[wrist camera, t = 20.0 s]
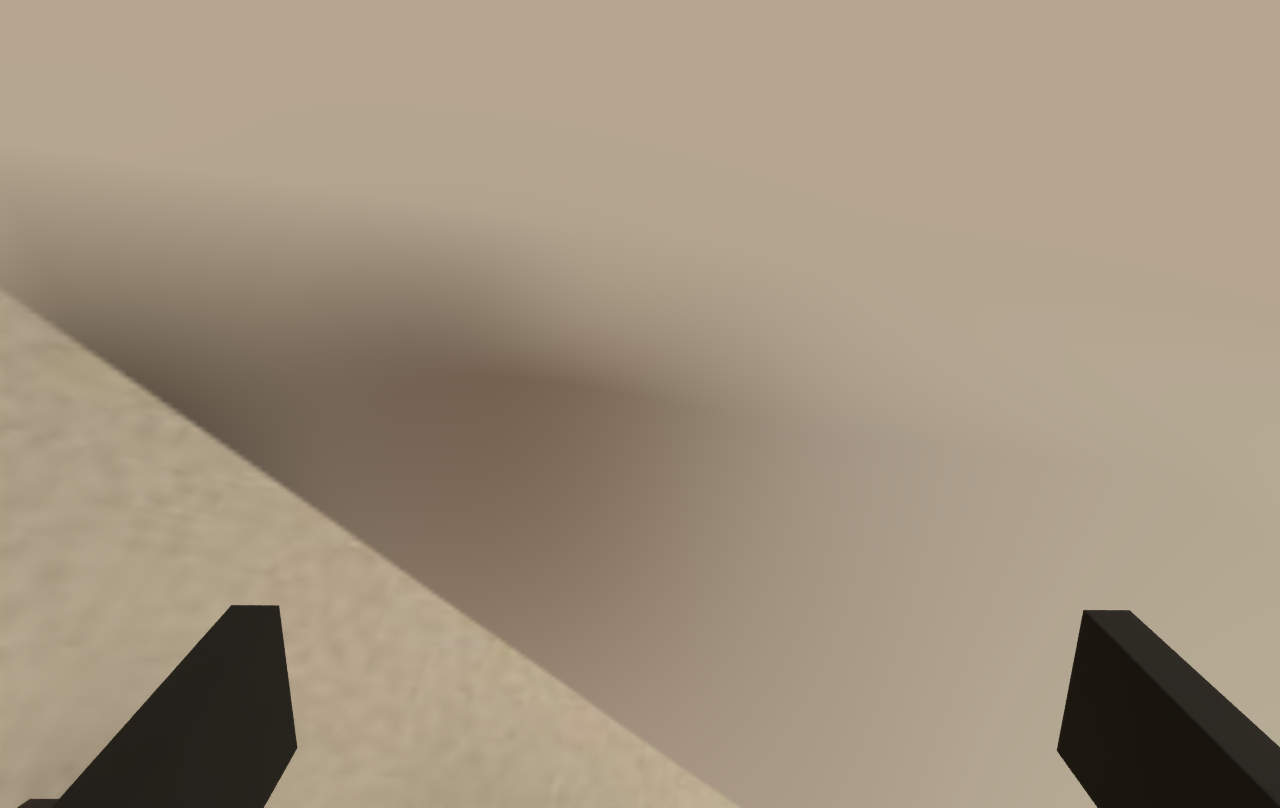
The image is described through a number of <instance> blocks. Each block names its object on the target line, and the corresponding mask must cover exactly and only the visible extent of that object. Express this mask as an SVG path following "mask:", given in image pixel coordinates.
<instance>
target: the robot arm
mask: <svg viewBox="0 0 1280 808" xmlns="http://www.w3.org/2000/svg"><path fill="white" fill-rule="evenodd" d="M296 749H297V742H296V734H295V726H294V719H293V711H292V703H291V695H290V687H289V680H288V672H287V664H286V656H285V648H284V641H283V633H282V625H281V617H280V609H279V606H273V605H231V606H230V607H229V609H228V610H227V611H226V612H225V613H224V614H223V615H222V616H221V618H220V619H219V620H218V621H217V622H216V623H215V624H214V625H213V627H212V628H211V629H210V630H209V631H208V632H207V633H206V634H205V635H204V637H203V638H202V639H201V640H200V641H199V642H198V643H197V644H196V646H195V647H194V648H193V649H192V650H191V651H190V652H189V653H188V655H187V656H186V657H185V658H184V659H183V660H182V661H181V662H180V664H179V665H178V666H177V667H176V668H175V669H174V670H173V671H172V673H171V674H170V675H169V676H168V677H167V678H166V679H165V680H164V682H163V683H162V684H161V685H160V686H159V687H158V688H157V689H156V691H155V692H154V693H153V694H152V695H151V696H150V697H149V698H148V700H147V701H146V702H145V703H144V704H143V705H142V706H141V707H140V709H139V710H138V711H137V712H136V713H135V714H134V715H133V716H132V718H131V719H130V720H129V721H128V722H127V723H126V724H125V725H124V727H123V728H122V729H121V730H120V731H119V732H118V733H117V734H116V736H115V737H114V738H113V739H112V740H111V741H110V742H109V743H108V745H107V746H106V747H105V748H104V749H103V750H102V751H101V752H100V754H99V755H98V756H97V757H96V758H95V759H94V760H93V761H92V763H91V764H90V765H89V766H88V767H87V768H86V769H85V770H84V772H83V773H82V774H81V775H80V776H79V777H78V778H77V779H76V781H75V782H74V783H73V784H72V785H71V786H70V787H69V788H68V790H67V791H66V792H65V793H64V794H63V795H62V796H61V797H60V799H29V800H28V801H26V802H25V803H23V804H22V805H21V806H19V807H18V808H264V806H265V804H266V803H267V801H268V799H269V797H270V796H271V794H272V792H273V790H274V788H275V787H276V785H277V783H278V781H279V780H280V778H281V776H282V774H283V772H284V771H285V769H286V767H287V765H288V764H289V762H290V760H291V758H292V756H293V755H294V753H295V751H296ZM1057 751H1058V753H1059V754H1060V756H1061V757H1062V758H1063V759H1064V761H1065V763H1066V764H1067V766H1068V767H1069V768H1070V770H1071V771H1072V773H1073V774H1074V775H1075V777H1076V778H1077V779H1078V781H1079V782H1080V784H1081V785H1082V787H1083V788H1084V789H1085V791H1086V792H1087V794H1088V795H1089V796H1090V798H1091V799H1092V801H1093V802H1094V803H1095V805H1096V806H1097V808H1280V747H1279V746H1278V745H1277V744H1276V743H1275V742H1273V741H1272V740H1271V739H1270V738H1269V737H1268V736H1267V735H1266V734H1265V733H1264V732H1262V731H1261V730H1260V729H1259V728H1258V727H1257V726H1256V725H1255V724H1254V723H1253V722H1252V721H1250V720H1249V719H1248V718H1247V717H1246V716H1245V715H1244V714H1243V713H1242V712H1241V711H1239V710H1238V709H1237V708H1236V707H1235V706H1234V705H1233V704H1232V703H1231V702H1229V701H1228V700H1227V699H1226V698H1225V697H1224V696H1223V695H1222V694H1221V693H1220V692H1219V691H1217V690H1216V689H1215V688H1214V687H1213V686H1212V685H1211V684H1210V683H1209V682H1208V681H1207V680H1205V679H1204V678H1203V677H1202V676H1201V675H1200V674H1199V673H1198V672H1197V671H1196V670H1194V669H1193V668H1192V667H1191V666H1190V665H1189V664H1188V663H1187V662H1186V661H1184V660H1183V659H1182V658H1181V657H1180V656H1179V655H1178V654H1177V653H1176V652H1175V651H1174V650H1172V649H1171V648H1170V647H1169V646H1168V645H1167V644H1166V643H1165V642H1164V641H1163V640H1162V639H1161V638H1159V637H1158V636H1157V635H1156V634H1155V633H1154V632H1153V631H1152V630H1151V629H1150V628H1148V627H1147V626H1146V625H1145V624H1144V623H1143V622H1142V621H1141V620H1140V619H1138V618H1137V617H1136V616H1135V615H1134V614H1133V613H1132V612H1131V611H1129V610H1119V611H1118V610H1083V616H1082V620H1081V626H1080V631H1079V637H1078V642H1077V647H1076V652H1075V658H1074V663H1073V668H1072V673H1071V678H1070V684H1069V689H1068V694H1067V700H1066V705H1065V710H1064V716H1063V720H1062V726H1061V731H1060V736H1059V742H1058V747H1057Z"/></svg>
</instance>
